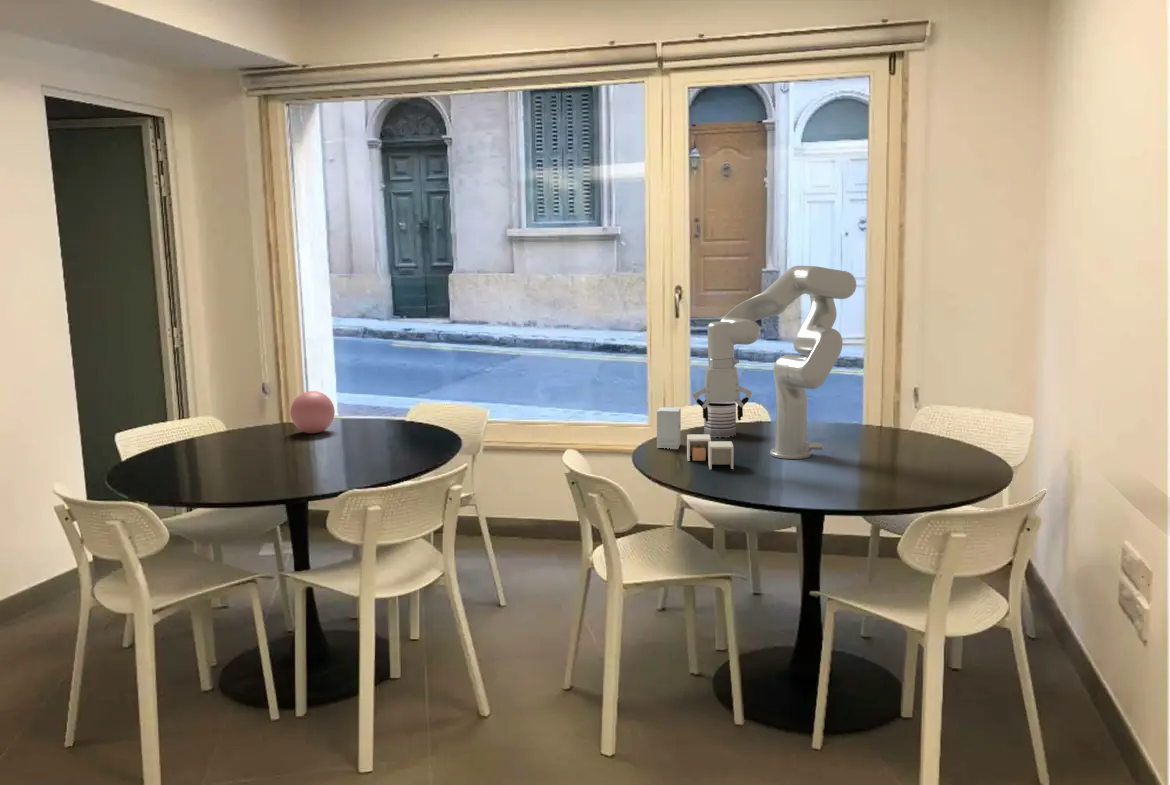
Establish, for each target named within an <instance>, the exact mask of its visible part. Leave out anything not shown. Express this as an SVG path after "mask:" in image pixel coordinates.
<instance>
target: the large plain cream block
mask: <svg viewBox="0 0 1170 785" xmlns="http://www.w3.org/2000/svg"><path fill="white" fill-rule="evenodd" d="M708 441H712V437H710V434H704V433H702V434H697V433H696V434H695V433H693V434H692V433H691V434H686V458H687V462H688V461H691V457H690V456H692V445H705V448H706V458H708Z"/></svg>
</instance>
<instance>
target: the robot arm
mask: <svg viewBox="0 0 1170 785" xmlns="http://www.w3.org/2000/svg"><path fill="white" fill-rule="evenodd" d="M856 288H857V279H856V278H855V276H854V274H852V273H851V272H849V271H845V270H840V269H833V268H827V267H822V266H816V265H794V266H792V267H790V268H788V269H787V270H786V271H785V272H784V273H783V274H782V275H780V276H779V277H778V278H777V279H776V280H775V281H774V282H773V283H772V284H770V285H769V286H768V287H767V288H766V289H765V290H764V291H762V292H760V293H758V294H756V295H754V296H753V297H750V298H748V299H747V300H744V301H742V302H740V303H739V304H737V305H736V306H735V307H733V308H732V309H731V310H729V311H728V312H727V314H725V315H724V316H723V317H722V318H721V320H720V321H712V322H710V323H708V325H707V351H708V352H707V353H708V354H707V357H708V358H707V359H708V360H707V361H708V367H706V369H705V373H704V374H705V375H704V386H703V387H702V388H700V389H699V390H698V389H697V391H695V392H693V393H692V396H693V398H694V400H695V402H696V403H697V405H699V406H700V407H701V408H702V418H703V419H704V418H705V420H706V422H708V408H707V406H708V404H709V403H710V402H730V401H734V402H736V418H737V421H742V418H744V410H743V407H744V406H745V405H746V404H747V403H748V402H749V400H750V398H751V396H752V394H753V392H752V391H751V390H749V389H747V388H745V387H743V386H741V385H740V380H739V371H738V367H737V366H736V365H737V364H740V359H739V358H736V357H735V347H734V346H735V345H736V346H737V345H751V344H753V343H755V342H757V341H758V339H759V338H760V336H761V332H762V331H761V327H760V325H759V324H758V323H757V321H759V320H763V319H767V318H772V317H775V316H778V315H781V314H782V313H784V312H785V311H786V310H787V309H788V308H789V307H790V306H791V305H793V303H795V301H796V300H798V299H799V298H800V297H801V296H802V295H809V299H810V309H809V312H808V314H807V315H806V317H805V319H804V321H803V323H802V324H801V326H800V327H799V329H798V331H797V332H796V335H795V337H794V340H793V349H794V351H795V352H797V353H798V354H800V355H797V354H785V355H782V356H779V357H778V359H776V361H775V362H774V365H773V380H774V384H775V397H776V398H775V399H776V400H775V402H776V404H775V447H773V448H771V449H770V455H771V456H772V457H774V458H779V459H787V460H798V459H799V460H800V459H801V460H802V459H807V458H810V457H811V456H812V450H817V451H822V449H823V444H822V443H817V442H809V441H808V438H807V437H808V436H807V432H808V428H807V427H808V426H807V425H808V394H807V391H806V389H807V390H815V389H818V388H820V387H821V386H822V385H823V384H824V383H825V381H826V380H827V378H828V377H829V375H830V373H831V371H832V369H833V368H834V367H835V365H836V362H837V360H838V359H839V357H840V355H841V352H842V349H843V345H844V344H843V337H842V335H841V333H840V332H839V331H838V330H837V329H835V328H833V326H834V324H835V323H836V320H837V316H838V315H837V308H836V304H835V299H837V300H845V299H849V298H850V297H851V296H853V294H854V293H855V291H856V290H857V289H856ZM741 393H743V394H745V396H744V397H743V398H742V399H740V398H741V397H740V396H741ZM701 395H704V398H705V399H704V400H701V399H700V396H701Z"/></svg>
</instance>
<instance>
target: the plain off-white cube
mask: <svg viewBox="0 0 1170 785" xmlns="http://www.w3.org/2000/svg"><path fill="white" fill-rule="evenodd" d="M734 452H735V451H734V444H733V442H732V441H725V440H723V441H721V440H720V441H718V440H717V441H714V440H713V441H712V440H711V441H708V457H707V460H708V462H707V464H708V469H709V470H712V469H713V467H712V465H729V466H730V469H733V470H734V455H735V454H734Z"/></svg>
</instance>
